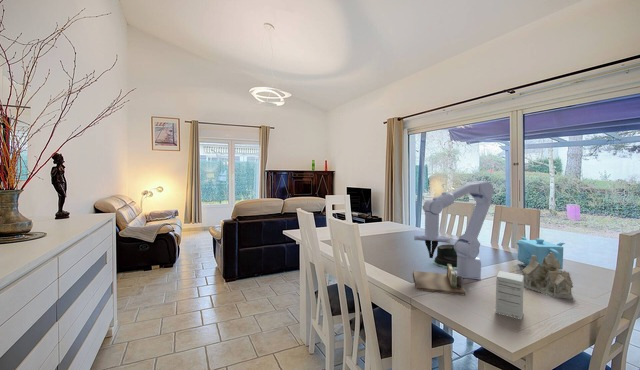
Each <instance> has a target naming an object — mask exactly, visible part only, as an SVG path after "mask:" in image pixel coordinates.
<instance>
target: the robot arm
mask: <svg viewBox="0 0 640 370" xmlns="http://www.w3.org/2000/svg"><path fill="white" fill-rule="evenodd" d="M494 191H495V188H494V186H493V184H492V183H491V182H490V181H487V180H485V181H482V180H481V181H479V180H470V181H469V182H466V183H465V184H464V185H462V186H460V187H458V188H457V189H454V190H453V191H451V192H445V191H444V192H441V194H440V195H438V196H434V197H433V198H432V199H428V200H425V202H424V203H423V205H422V209H423V211H424V235H418V234H417V235H414V237H413V238H414V239H413V240H414V241H420V242H421V241H422V242H423V241H424V243H425V247H426V250H427V252H428V255H429V256H428V257H429V259H433V258H434V254H435V252H436V250H437V247H438V246H439V243H445V244H450V242H451V240H450V238H449V237H445V236H444V237H443V236H439V235H440V234H439V233H440V232H439V230H440V227H439V226H440V214H441V213H442V211H443V210H444V209H446V208H447V207H449V206H451V205H453V204H454V203H455V200H456V199H457V200H458V199H460V198H462V197H464V196H466V195H470V196H471V197H472V199H474V201H475V203H476V204H475V205H474V209H473V211H472V214H471V216H470V219H469V221H468V223H467V226H466V228H465V231H464V233H463V234H461V235H459V236H458V239H457V240H456V241H455V242H454V244H453V245H454V250H455V251H456V252H457V269H456V270H454V273H455V275H456V277H457V276H462V279H470V280H471V279H473V280H482V278H481V276H482V275H481V274H482V262H481V259H480V257H478V256H479V254H480V247H481V243H480V240H478V237H479V236H480V232H481V229H482V227H483V224H484V222H485V219H486V218H487V214H488V212H489V209H490V206H491V204H492V197H493V194H494Z"/></svg>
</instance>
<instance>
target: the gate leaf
mask: <svg viewBox="0 0 640 370" xmlns="http://www.w3.org/2000/svg"><path fill="white" fill-rule="evenodd" d="M446 274H447V276H448V278H449V280H450V283H451V287H452V288H456V277H457V275H456V273H455V269H453V268H452V265H451V264H447V268H446Z"/></svg>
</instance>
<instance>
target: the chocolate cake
mask: <svg viewBox="0 0 640 370" xmlns="http://www.w3.org/2000/svg"><path fill="white" fill-rule="evenodd" d="M431 263H432V264H434V265H436V266H440V267H442V268H446V269H447V264H451V265H452V268H453V270H457V252H456V251H455V250H454V244H450V243H447V244H441V245H440V244H439V245H437V247H436V256H435V258H434V261H432V262H431Z"/></svg>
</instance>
